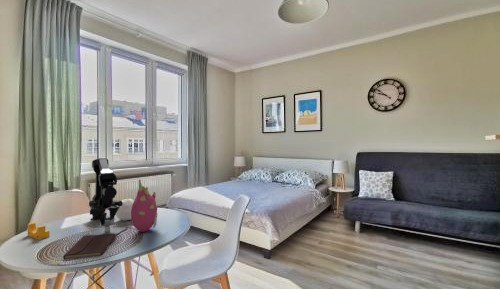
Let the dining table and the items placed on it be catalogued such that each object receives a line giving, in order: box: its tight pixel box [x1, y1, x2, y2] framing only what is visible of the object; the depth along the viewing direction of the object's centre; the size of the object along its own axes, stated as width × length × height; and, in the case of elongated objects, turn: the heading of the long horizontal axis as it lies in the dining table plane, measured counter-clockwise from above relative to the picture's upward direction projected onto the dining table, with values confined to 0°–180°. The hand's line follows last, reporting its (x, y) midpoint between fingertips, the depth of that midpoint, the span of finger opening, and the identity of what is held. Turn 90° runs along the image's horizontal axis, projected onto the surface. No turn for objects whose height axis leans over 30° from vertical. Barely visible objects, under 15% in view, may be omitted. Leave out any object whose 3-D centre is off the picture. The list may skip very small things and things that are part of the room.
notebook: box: [62, 234, 117, 260], centre depth 113 cm, size 15×20×2 cm
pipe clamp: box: [27, 222, 50, 240], centre depth 126 cm, size 12×4×6 cm, turn 65°
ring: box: [99, 216, 115, 228], centre depth 130 cm, size 7×7×3 cm
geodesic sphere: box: [115, 198, 135, 222], centre depth 153 cm, size 15×14×14 cm
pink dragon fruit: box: [130, 179, 158, 233], centre depth 133 cm, size 18×14×30 cm
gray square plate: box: [89, 226, 128, 237], centre depth 130 cm, size 14×14×4 cm
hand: (107, 222), depth 130 cm, fingers closed on ring, 7 cm apart
